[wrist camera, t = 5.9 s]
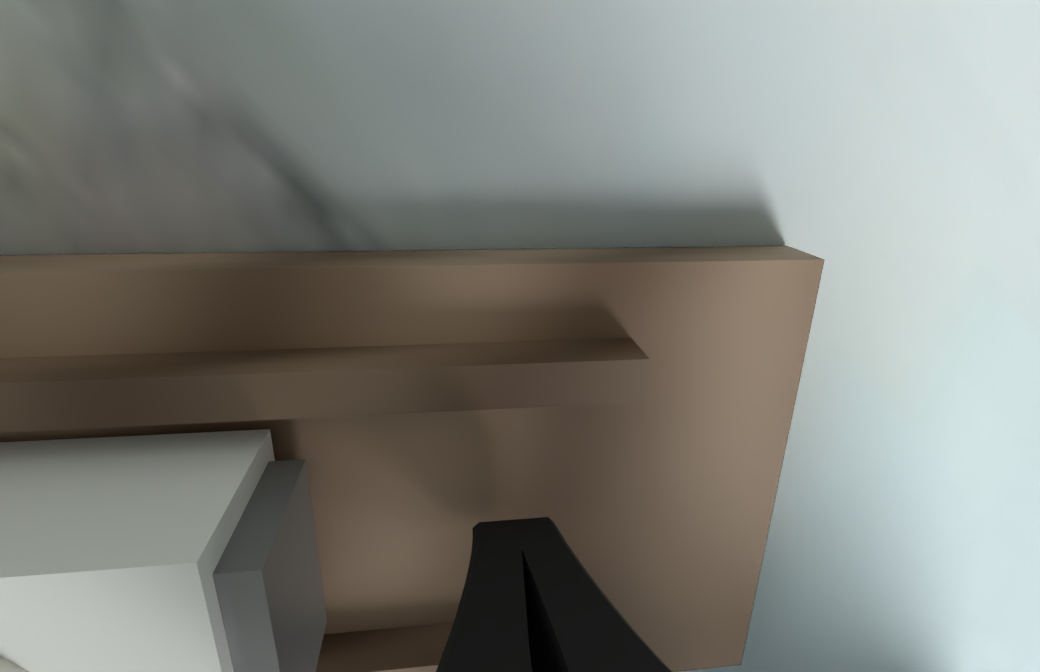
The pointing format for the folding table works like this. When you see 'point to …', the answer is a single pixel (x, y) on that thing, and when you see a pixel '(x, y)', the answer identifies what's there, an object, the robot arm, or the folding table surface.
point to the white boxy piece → (157, 556)
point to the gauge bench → (453, 411)
